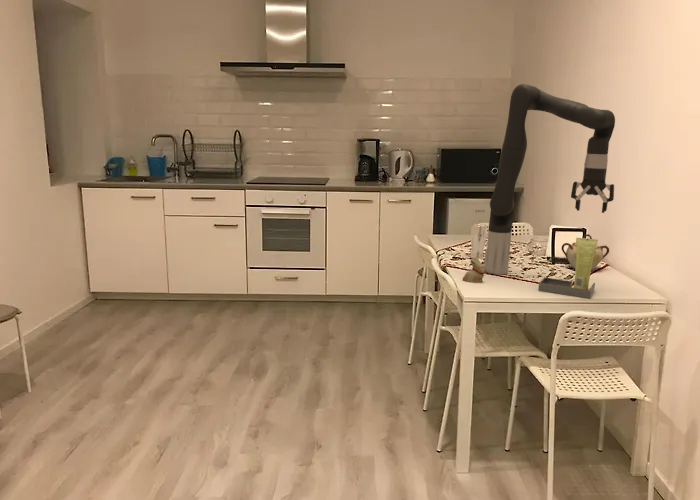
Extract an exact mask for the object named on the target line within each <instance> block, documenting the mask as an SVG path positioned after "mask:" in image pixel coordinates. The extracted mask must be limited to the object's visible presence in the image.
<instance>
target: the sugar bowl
mask: <svg viewBox="0 0 700 500" xmlns="http://www.w3.org/2000/svg"><path fill="white" fill-rule="evenodd" d="M586 237H589V239H593V237H592V236H591V235H590V234H588V233H587V234H584V235H583V237H582V238H586ZM565 246H568V247H567V249H566V251H565V249H564V248H565ZM604 249H605V250H606V252H605V253H604V252H603V251H604ZM561 251H562V253H563V255H565V257H566V259H567V260H568V262H569V263H570V265H571V267H572V268H573V269H576V242H572V244H570V243H568V242H565V243H563V244H562V245H561ZM609 253H610V247H609V246H607V245H598V244H597V245H596V249H595V253H594V258H593V263H592V268H591V271H593V270H594V269H595V268H596V267H597V266H598V265H599V264H600V263H601V262H602V261H603V259H605V257H607V256H608V254H609Z"/></svg>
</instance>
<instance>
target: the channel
mask: <svg viewBox="0 0 700 500" xmlns="http://www.w3.org/2000/svg"><path fill="white" fill-rule="evenodd" d="M573 283H574V282H573V279H571V280H564V279H560V278H559V279H557V278H551V277H545V276H544V277H543V278H542V279H541V281H540V282H538V292H543V293H544V292H545V293H549V294H556V295H557V294H558V295H561V296H564V295H565V296H569V297H575V298H576V297H577V298H583V299H588V300H589V299H590V300H591V297H592V296H593V293H594V291H595V286H596V283H595V282H593V284H592V285H591V287H590V288H589V289H590V290H585V289H578V288H573Z"/></svg>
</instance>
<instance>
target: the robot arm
mask: <svg viewBox="0 0 700 500" xmlns="http://www.w3.org/2000/svg"><path fill="white" fill-rule="evenodd" d="M528 111H539V112H540V111H541V112H546V113H549V114H551V115H554V116H556V117H558V118H560V119H562V120H563V119H564V120H566V121H569V122H572V123H575V124H579V125H581V126H583V127H585V128H588V129H591V130H594V131H593V135H592V136H591V137H590V138H588V141H587V148H586V156H585V159H584V165H583V166H584V167H583V176H582V181H581V182H580V181H574V182H573V183H572V187H571V193H570V197H571V199H574V200H575V207H574V208H575V209H576V211H581V209H580V208H581V198H582V197H584V196H585V195H587V196H588V195H589V196H592V195H593V196H599V197H600V198H601V200H602V206H601V214H604V213H605V212H607V209H608V203H610V202H613V201H614V198H615V197H614V196H615V184H614V183H611V184H607V183H606V178H607V177H606V176H607V169H608V163H609V161H608V159H609V157H608V156H609V155H608V154H609V147H610V145H609V143H610V141H611V138H612V135H613V132H614V128H615V126H616V116H615V114H614V113H613V112H612V111H611V110H608V109H600V108H595V107H590V106H588V105H587V104H585V103H582V102H578V101H575V100H571V99H567V98H561V97H557V96H555V95H551V94H549V93H547V92H546V91H544V90H541V89H540V88H538V87H536V86H534V85H530V84H525V83H524V84H523V83H522V84H518V85H517V86H515V88H514V89H513V90H512V93H511V96H510V102H509V110H508V118H507V124H506V128H505V134H504V139H503V143H502V146H501V152H500V156H499V163H498V171H497V179H496V183H495V187H494V190H493V193H492V195H491V199H490V200H489V201H490V202H489V208H490V213H489V221H488V222H489V223H488V230H487V231H488V232H487V244H486V248H485V253H484V264H483V265H484V266H485V267H486V271H485V273H489V274H494V275H507V274H508V273H509V264H510V253H511V252H510V251H511V241H512V230H513V222H514V212H515V211H514V210H515V198H514V197H515V188H516V183H517V180H518V178H519V175H520V172H521V170H522V167H523V163H524V161H525V157H526V152H527V148H528V139H527V132H526V119H527V116H528V115H527V114H528ZM579 187H581V188H582V191H581V192H580V193H579V194H578V195H576V194H577V189H578V188H579ZM605 189H607V190H608V191H609V195H608V196H609V197H607V196H606V194H605V192H604V190H605Z"/></svg>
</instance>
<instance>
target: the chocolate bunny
mask: <svg viewBox="0 0 700 500" xmlns="http://www.w3.org/2000/svg"><path fill="white" fill-rule="evenodd" d="M469 262H470V263H471V265H472V269H470V270H468V271H466V273H465V274H464V276H462V281H464V282H467V283H473V284H475V283H476V284H477V283H478V284H479V283H480V284H481V283H483V281H484V280H483V279H484V277H485V275H484V274H485V273H486V272H485V271H486V267H485V266H484V264H483V263H482V262H481V261H480V259H478V258H477V257H474V258H471V259H470V260H469Z"/></svg>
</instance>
